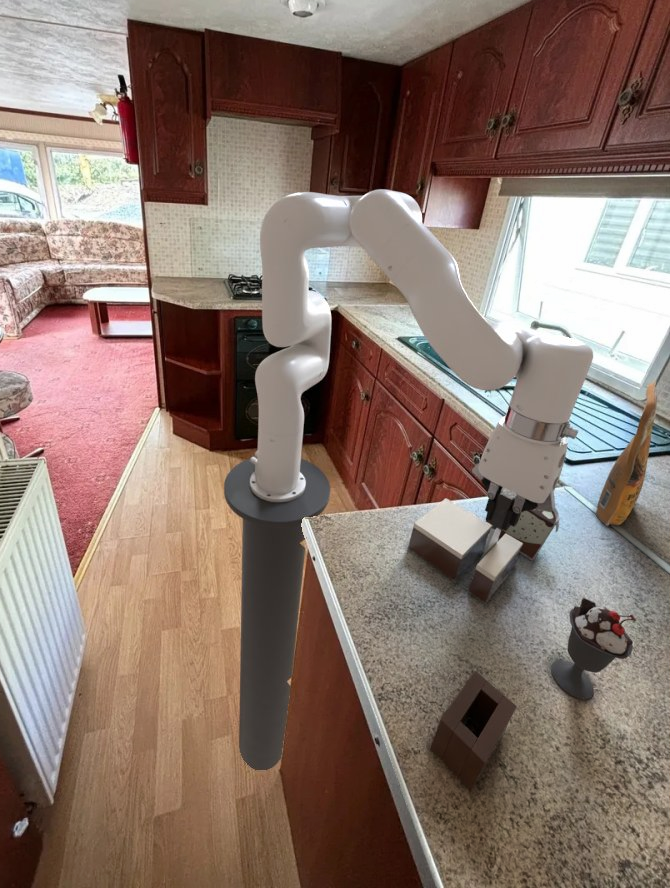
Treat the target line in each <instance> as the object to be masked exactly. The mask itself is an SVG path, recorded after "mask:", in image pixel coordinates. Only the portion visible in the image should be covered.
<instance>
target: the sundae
mask: <svg viewBox="0 0 670 888" xmlns="http://www.w3.org/2000/svg"><path fill="white" fill-rule="evenodd" d="M568 614H569V622H570V626H571V630H570V633H569V637H568V641H567V653H568V656H569V658H570V659H571V660H572V662H573V663H572V662H570V661H567V660H565V659H564V660H563V659H557V660H555V661H554V662H553V663H552V664H551V668H550V670H551V671H550V672H551V675H552V677H553V679H554V681H555V682H556V684H557V685H558V686H559V687H560V688H561V689H562V690H563V691H564V692H566V693H567V694H568V695H570V696H571V697H574V698H576V699H580V700H589V699H591V698H592V697H593V695H594V684H593V683H592V680H591V679H590V677H589V676H588V675H587V674H586V672H590V673H594V674H595V673H596V674H597V673H600V672H601V671H603V670H604V669H606V668H607V667H608V666H609V665H610V664H611V663H612V662H613V661H614V660H615V659H619V660H625V659H627V658H629V657H630V656H631V654H632V652H633V648H634V647H633V644H634V641H633V640H632V639H631V637H630V636H629V634H628V633H627V632H626V630H625V627H624V626H623V625H622V624H623V623H624V622H626V621H633V622H636V621H637V619H636V617H634V615H632V614H630V615H621V614H619V613H618V612H617V611H615V610H609V609H608V608H606V607H598V606H597V604H596V602H594V601H592V600H591V599H587V598H585V597H582V599H581V601H580V606H577V605H575V606H574V607H573V608H572V609H570V612H569V613H568ZM626 617H627V618H626ZM621 618H624V619H623V620H621ZM625 618H626V619H625ZM620 620H621V621H620ZM584 671H585V672H584Z"/></svg>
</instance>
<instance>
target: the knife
mask: <svg viewBox="0 0 670 888" xmlns="http://www.w3.org/2000/svg"><path fill="white" fill-rule="evenodd" d="M516 497H517V494H516V493H514V492H512V491H510V490H508V489H506V488H505V489H504V490H503V491H501V492H500V493H499V496H498V499H497V501H496V502H497V504H496V507H495V510H494V513H493V515H492V518H491V521H490V522H489V523H490V524H492V525H493V526H492V528H491V530H490V533H489V536H488V538H487V541H486V544H485V547H484V550H483V551H482V552H481V556H480V559H479V562H480V561H481V560H482V559H483V558H484V556H485V555H486V554H487V553H488V552H489V551H490V550H491V549H492V548H493V547H494V545H495V544H496V543H497V542H498V541H499V539H498V538H499V535H500V532H501V530H502V528H501V527H502V524H503V522H504V519H505V516H506V513H507V511H508V509H510V508H511V507H512V505H513V504H514V503H515V500H516Z"/></svg>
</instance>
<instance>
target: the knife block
mask: <svg viewBox="0 0 670 888" xmlns="http://www.w3.org/2000/svg"><path fill="white" fill-rule="evenodd" d="M517 707H518V706H517V704H515V703H514V702H513V701H512V700H511V699H509V698H508V697H507V696H505V695H504V693H502V692H501V691H500V689H498V688H496V687H495V685H493V684H492V683H490V682H489V681H488V680H487V679H486V678H485V677H484V676H483V675H481V673H479V672H478V671H476V670H474V671H473V672H472V674H471V675H470V676H469V678H468V679H467V681H466V682H465V683H464V685H463V687H462V688H461V689H460V691H459V692H458V693H457V695H456V697H455V698H454V700H453V701H452V703H451V704H450V705H449V706H448V708H447V709H446V711H445V712H444V713H443V716H442V717H440V719H439V723H438V726H437V728H436V731H435V734H434V736H433V738H432V742H431V744H430V746H429V749H430V751H432V752H433V754H434V755H435V756H436V757H437V758H438V759H439V760H440V761H441V762H442V763H443V764H444V765H445V766H446V768H447V769H448V770H450V772H451V773H452V774H453V775H454V776H455V777H456V778H457V779H458V780H459V781H460V782H461V784H463V786H465V788H466V789H467V790H468V791H469V792H470V793H471V792H473V790H474V788H475V787H476V784H477V782H478V780H479V778H480V777H481V775H482V773H483V771H484V769H485V768H486V766H487V764H488V763H489V760H490V759H491V757H492V756H493V753H494V752H495V750H496V748H497V746H498V744H499V742H500V740H501V739H502V737H503V736H504V733H505V731H506V729H507V727H508V725H509V724H510V721H511V719H512V717H513V715H514V713H515V712H516V710H517ZM468 720H470V721H471V722H472V723H473V724H474V725H475V726H476V727H477V728H478V729H480V730H481V732H480V734H479V736H478V737H477V736H476V735H475V734H474V733H473V732H472V731H471V730H470V729H469V727H467V726H466V724H467V722H468Z"/></svg>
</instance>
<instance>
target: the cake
mask: <svg viewBox="0 0 670 888" xmlns="http://www.w3.org/2000/svg"><path fill="white" fill-rule="evenodd" d="M491 528H492V525H491V524H489V523H487V522H486V520H484V519H482V518H481V517H479V516H477V515H475V514H474V513H472V512H471V511H469V510H467V509H465V508H464V507H462V506H460V505H458V504H457V503H455V502H453V501H451V500H450V499H448V498H444V499H443V500H441V501H440V502H439V503H438V504H437V505H435V506H434V507H433V508H431V509H430V510H429V511H428V512H426V513H425V514H424V515H422V516H421V517H420V518H418V519H417V520H416V521H414V523H413V527H412V530H411V534H410V538H409V543H408V546H407V549H409V550H410V551H412V552H413V553H415V554H416V555H417V556H419V557H420V558H422V559H423V560H424V561H426V562H427V563H428V564H430V565H431V566H433V568H436V570H438V571H439V572H440V573H443V575H444V576H446V577H448V578H449V579H451V580H452V581H453V582H455V581H456V580H457V579H458V578H459V577H460V576H461V575H462V574H463V573H464V572H465V571H466V569H467V568H468V567H469V566H470V565H471V564H472V563H473V562H474V561H475V560H476V559H477V558H478V556H480V555H481V554H482V553H483V550H484V547H485V544H486V541H487V538H488V536H489V533H490V530H491Z"/></svg>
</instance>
